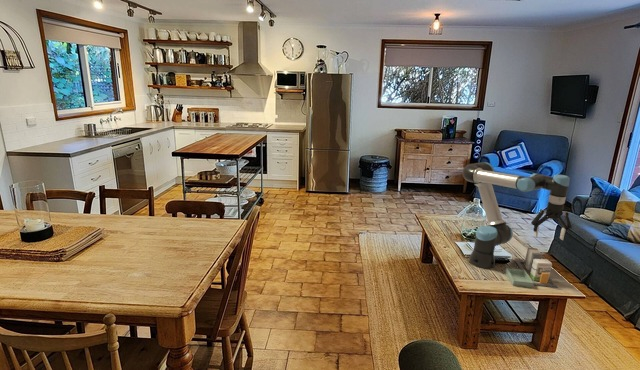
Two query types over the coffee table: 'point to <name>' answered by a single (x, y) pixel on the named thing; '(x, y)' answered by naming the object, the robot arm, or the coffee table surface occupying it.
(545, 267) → the ink box
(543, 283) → the grey rectangular frame
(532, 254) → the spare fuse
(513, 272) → the tray
